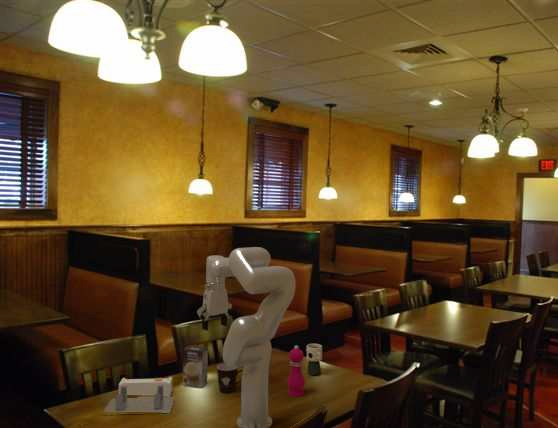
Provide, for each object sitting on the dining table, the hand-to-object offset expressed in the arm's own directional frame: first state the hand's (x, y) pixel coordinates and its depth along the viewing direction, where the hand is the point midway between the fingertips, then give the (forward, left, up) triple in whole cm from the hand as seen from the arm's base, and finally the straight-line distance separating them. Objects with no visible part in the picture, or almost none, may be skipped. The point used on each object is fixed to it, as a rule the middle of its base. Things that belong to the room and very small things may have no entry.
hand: (214, 327), depth 203 cm
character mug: (+20, -45, -28) cm, 56 cm away
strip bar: (0, +27, -27) cm, 39 cm away
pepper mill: (-2, -34, -28) cm, 43 cm away
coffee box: (+10, +8, -28) cm, 30 cm away
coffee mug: (+2, -7, -28) cm, 28 cm away
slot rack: (-12, +27, -27) cm, 41 cm away
